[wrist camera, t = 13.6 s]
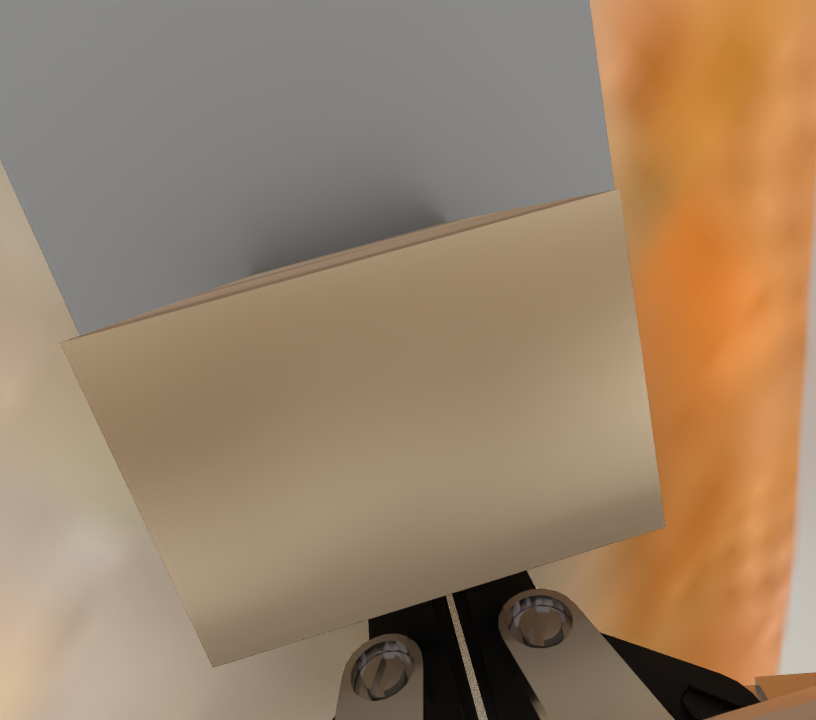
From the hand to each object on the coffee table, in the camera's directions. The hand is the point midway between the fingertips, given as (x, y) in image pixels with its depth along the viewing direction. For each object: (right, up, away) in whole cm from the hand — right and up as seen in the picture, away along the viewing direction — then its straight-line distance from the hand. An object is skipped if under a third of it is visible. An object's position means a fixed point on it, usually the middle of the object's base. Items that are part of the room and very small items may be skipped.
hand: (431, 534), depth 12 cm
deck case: (-2, +6, +5) cm, 8 cm away
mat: (-3, +12, +4) cm, 13 cm away
